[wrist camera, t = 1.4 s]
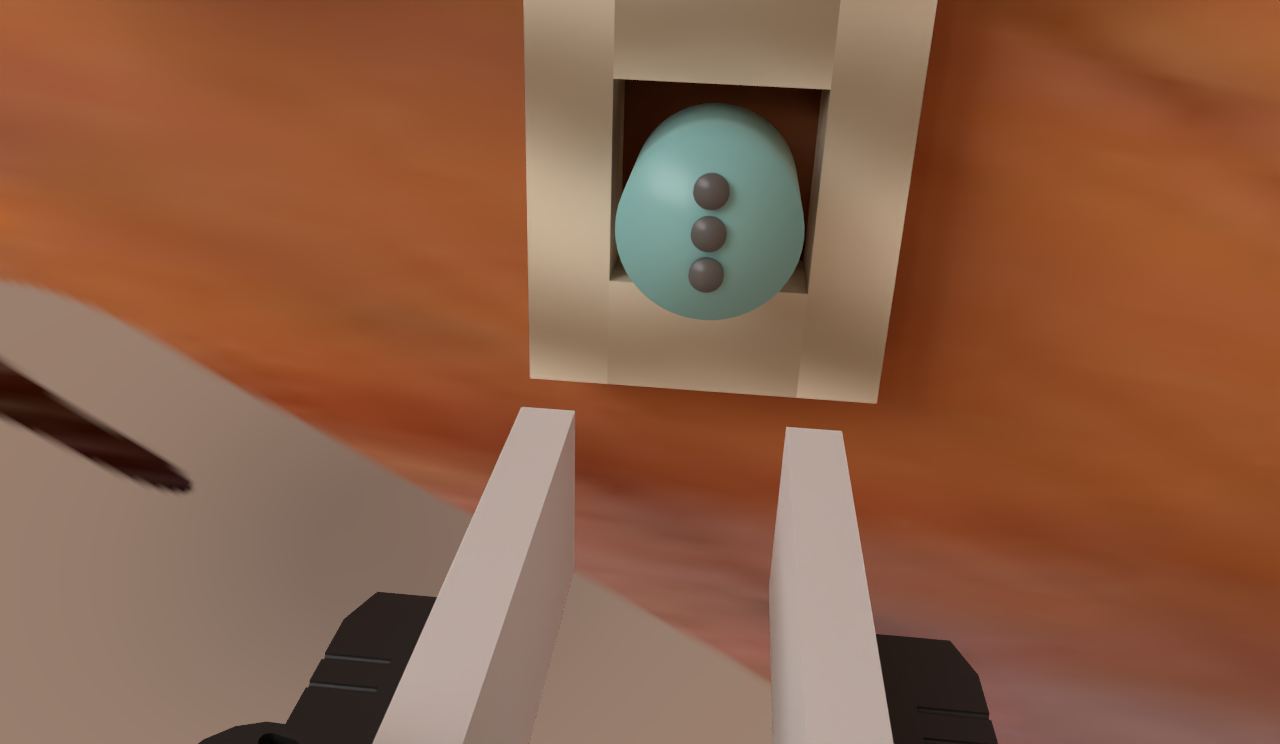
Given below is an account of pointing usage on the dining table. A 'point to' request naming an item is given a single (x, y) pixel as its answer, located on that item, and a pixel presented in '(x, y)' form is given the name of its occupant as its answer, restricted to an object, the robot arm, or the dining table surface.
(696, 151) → the button
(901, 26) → the wooden compartment tray
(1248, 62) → the dining table surface
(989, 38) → the dining table surface
